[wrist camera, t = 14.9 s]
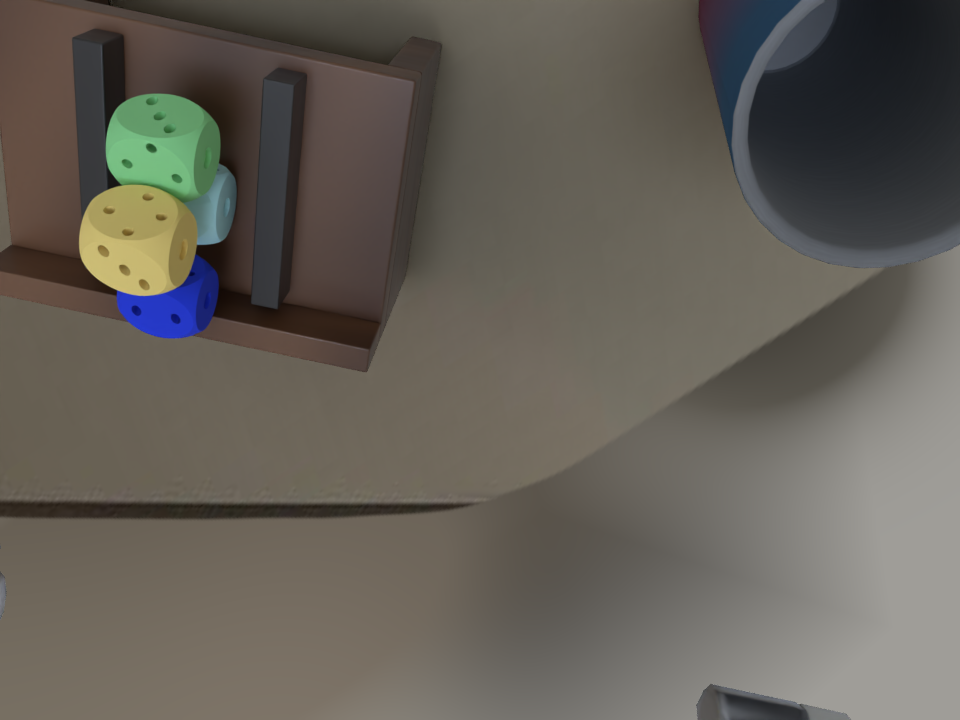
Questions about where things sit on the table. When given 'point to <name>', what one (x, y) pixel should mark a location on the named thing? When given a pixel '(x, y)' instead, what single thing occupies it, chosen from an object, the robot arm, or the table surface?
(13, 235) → the laptop stand
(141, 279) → the dice
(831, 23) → the cup
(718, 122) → the table surface
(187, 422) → the table surface
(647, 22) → the table surface
